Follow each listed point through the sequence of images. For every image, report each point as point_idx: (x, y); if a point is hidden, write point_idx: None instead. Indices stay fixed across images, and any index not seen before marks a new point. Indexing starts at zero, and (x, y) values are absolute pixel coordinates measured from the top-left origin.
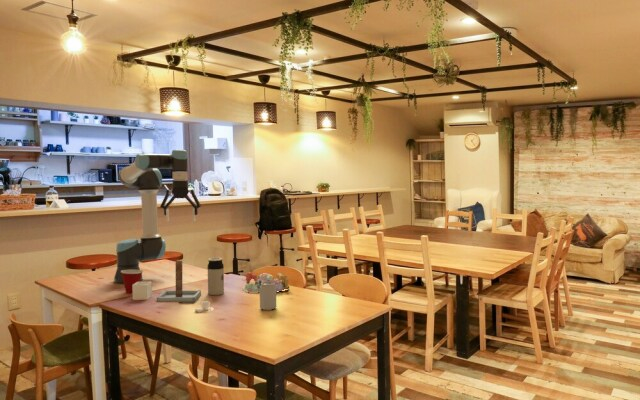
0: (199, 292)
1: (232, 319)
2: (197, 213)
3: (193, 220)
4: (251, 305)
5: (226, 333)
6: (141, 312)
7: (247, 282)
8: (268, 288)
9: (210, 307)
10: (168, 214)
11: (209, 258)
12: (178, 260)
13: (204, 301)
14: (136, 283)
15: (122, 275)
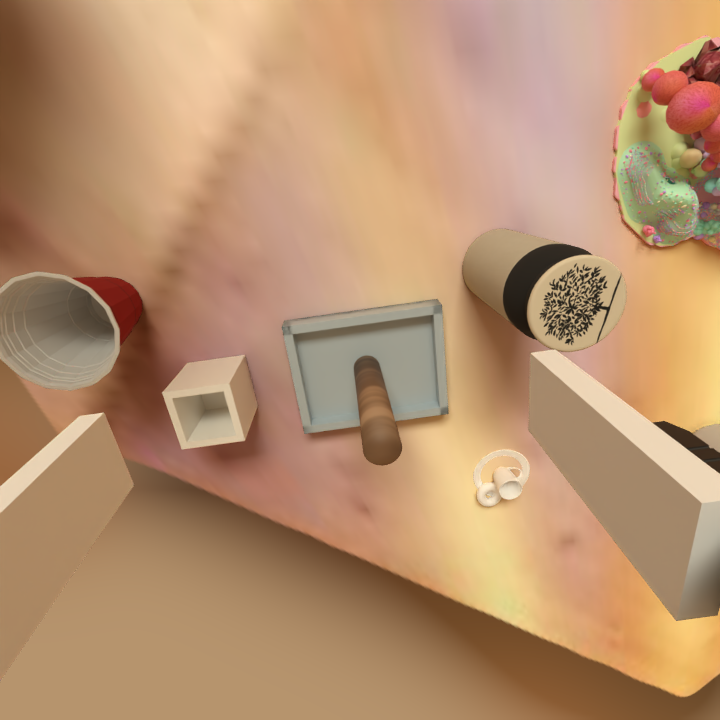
0: (442, 332)
1: (597, 540)
2: (693, 439)
3: (544, 440)
4: (651, 414)
5: (591, 620)
6: (311, 517)
7: (649, 91)
8: None
9: (515, 452)
10: (40, 529)
11: (536, 302)
12: (375, 439)
13: (507, 480)
14: (180, 421)
15: (36, 362)
